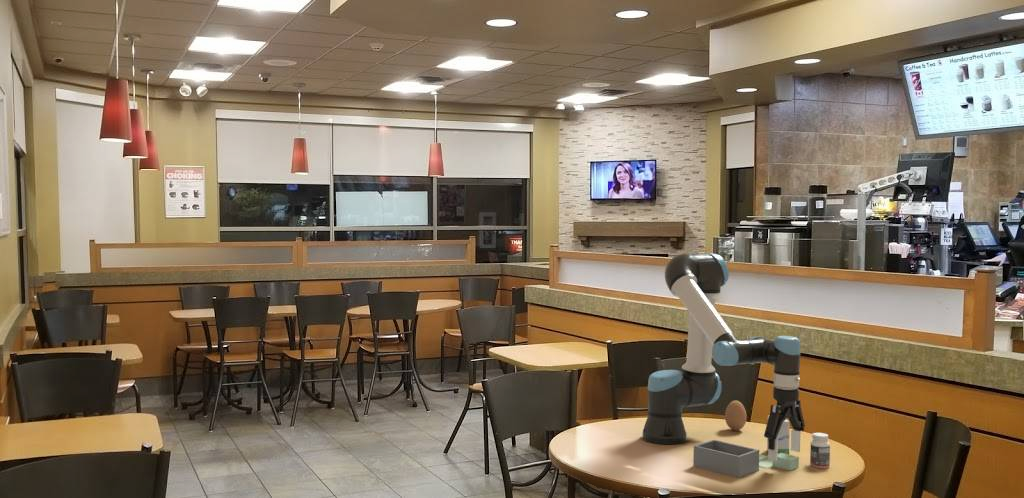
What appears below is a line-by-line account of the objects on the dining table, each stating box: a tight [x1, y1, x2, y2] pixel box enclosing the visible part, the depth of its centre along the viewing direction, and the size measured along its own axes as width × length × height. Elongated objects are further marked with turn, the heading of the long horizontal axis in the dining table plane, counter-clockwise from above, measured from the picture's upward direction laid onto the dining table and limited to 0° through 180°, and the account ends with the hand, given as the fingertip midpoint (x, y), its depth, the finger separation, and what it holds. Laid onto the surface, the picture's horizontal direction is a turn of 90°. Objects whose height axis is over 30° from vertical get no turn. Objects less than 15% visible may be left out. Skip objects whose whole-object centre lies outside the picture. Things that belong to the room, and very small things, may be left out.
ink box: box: [766, 414, 791, 455], centre depth 278 cm, size 8×5×12 cm, turn 0°
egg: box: [724, 400, 747, 432], centre depth 308 cm, size 8×8×11 cm
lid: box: [759, 453, 800, 471], centre depth 267 cm, size 23×12×4 cm, turn 43°
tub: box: [692, 439, 760, 479], centre depth 259 cm, size 16×11×7 cm
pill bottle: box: [809, 432, 831, 469], centre depth 264 cm, size 6×6×10 cm
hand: (784, 455), depth 261 cm, fingers open, 13 cm apart
